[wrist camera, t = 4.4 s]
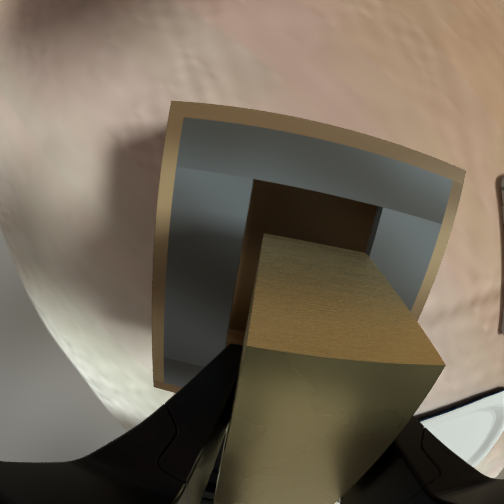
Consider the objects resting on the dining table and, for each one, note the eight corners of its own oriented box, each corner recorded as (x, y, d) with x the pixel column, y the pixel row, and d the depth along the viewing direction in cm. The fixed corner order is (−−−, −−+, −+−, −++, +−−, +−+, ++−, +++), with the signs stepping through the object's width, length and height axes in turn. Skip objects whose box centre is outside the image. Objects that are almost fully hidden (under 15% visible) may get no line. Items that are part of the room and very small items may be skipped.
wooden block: (305, 414, 11) (310, 523, 6) (231, 404, 11) (210, 515, 6) (365, 252, 8) (445, 364, 4) (263, 233, 8) (246, 345, 4)
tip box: (344, 348, 21) (363, 418, 14) (184, 320, 21) (152, 386, 15) (403, 160, 16) (465, 170, 10) (208, 117, 16) (168, 100, 10)
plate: (528, 366, 22) (535, 373, 20) (471, 467, 30) (473, 473, 28) (342, 428, 25) (344, 441, 23) (335, 506, 33) (335, 515, 31)
